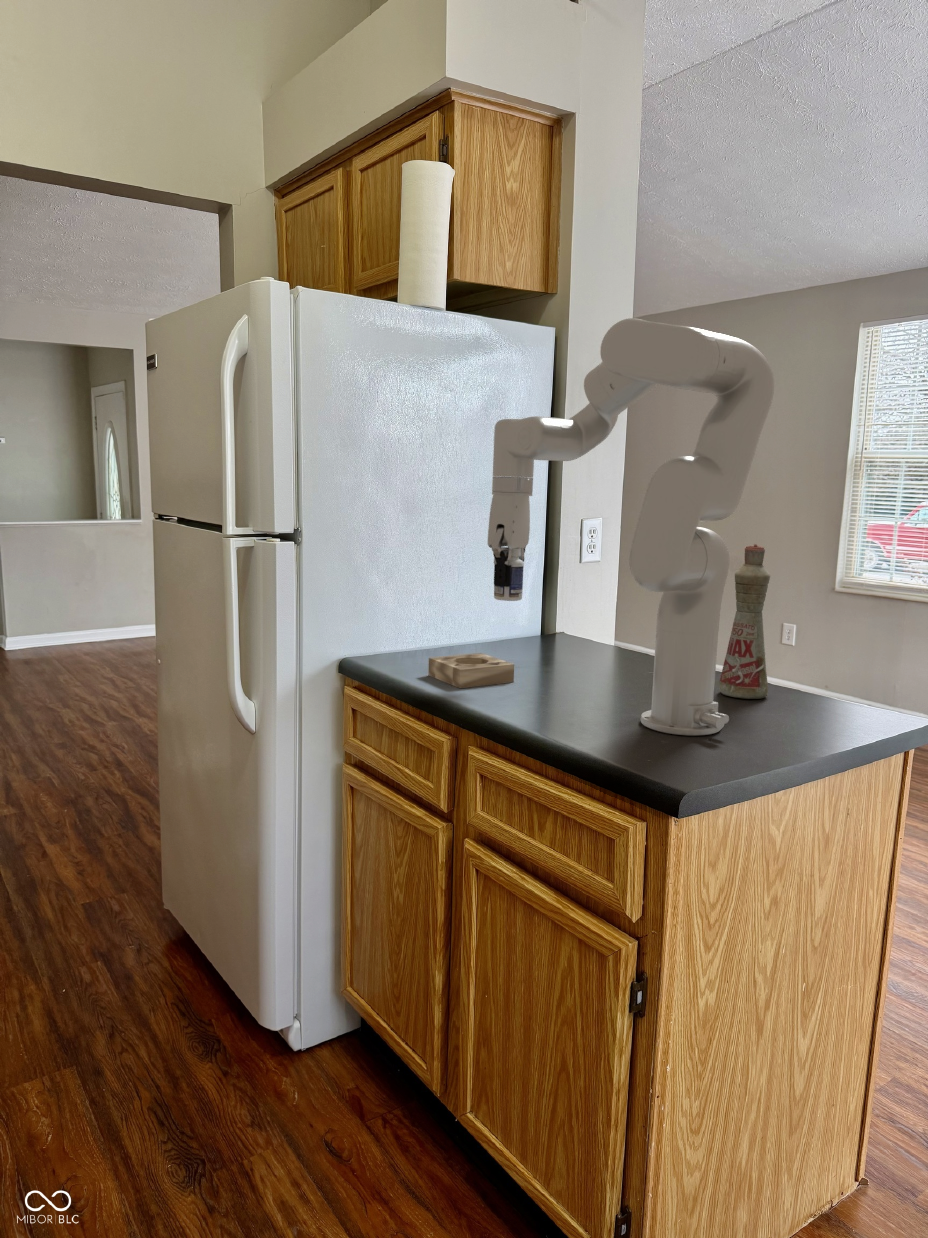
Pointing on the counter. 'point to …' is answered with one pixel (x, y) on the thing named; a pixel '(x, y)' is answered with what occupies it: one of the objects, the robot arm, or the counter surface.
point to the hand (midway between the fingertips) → (508, 583)
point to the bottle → (747, 632)
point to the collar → (471, 670)
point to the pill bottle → (512, 580)
